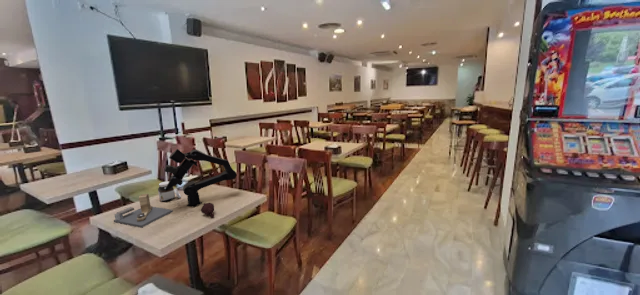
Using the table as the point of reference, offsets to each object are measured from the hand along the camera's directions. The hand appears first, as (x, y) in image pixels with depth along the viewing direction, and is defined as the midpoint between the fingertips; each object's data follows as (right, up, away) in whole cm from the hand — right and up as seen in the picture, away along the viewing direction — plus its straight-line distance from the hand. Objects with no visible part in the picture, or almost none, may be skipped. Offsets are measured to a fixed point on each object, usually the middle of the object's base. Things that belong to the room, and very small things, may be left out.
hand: (166, 188), depth 155 cm
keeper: (-15, -15, -7) cm, 22 cm away
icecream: (+27, -14, -4) cm, 30 cm away
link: (-9, -14, -5) cm, 17 cm away
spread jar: (-9, -10, +20) cm, 24 cm away
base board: (-10, -15, -5) cm, 19 cm away
